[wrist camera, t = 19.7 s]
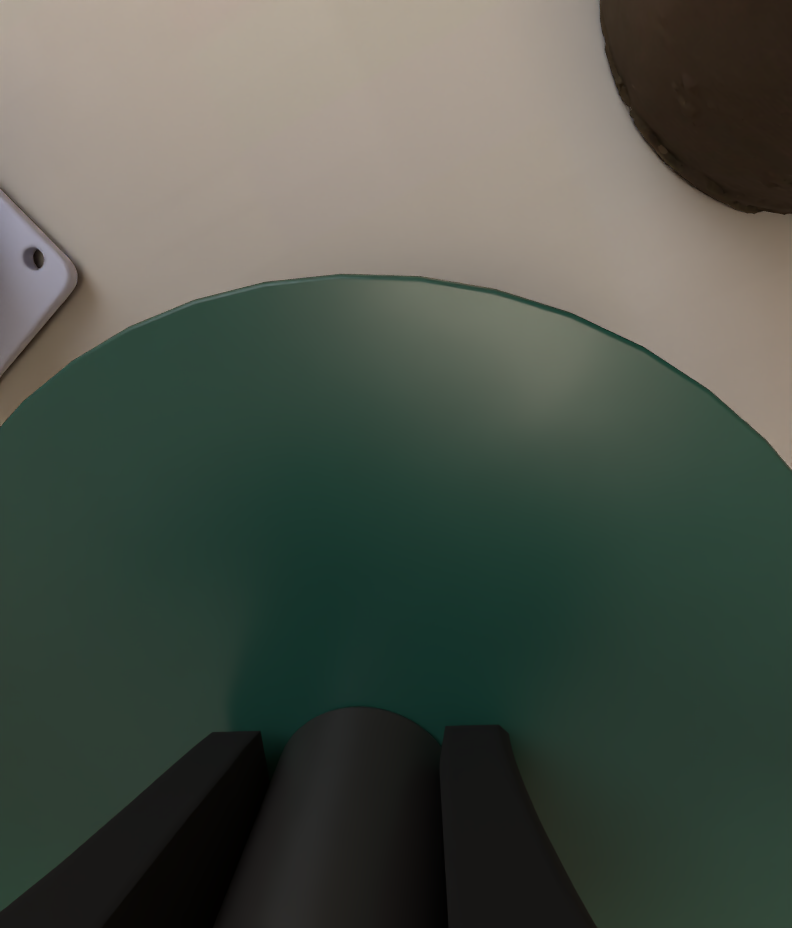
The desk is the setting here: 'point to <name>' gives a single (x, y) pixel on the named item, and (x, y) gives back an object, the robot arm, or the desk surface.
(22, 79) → the desk surface
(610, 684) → the lid
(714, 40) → the pillar candle
